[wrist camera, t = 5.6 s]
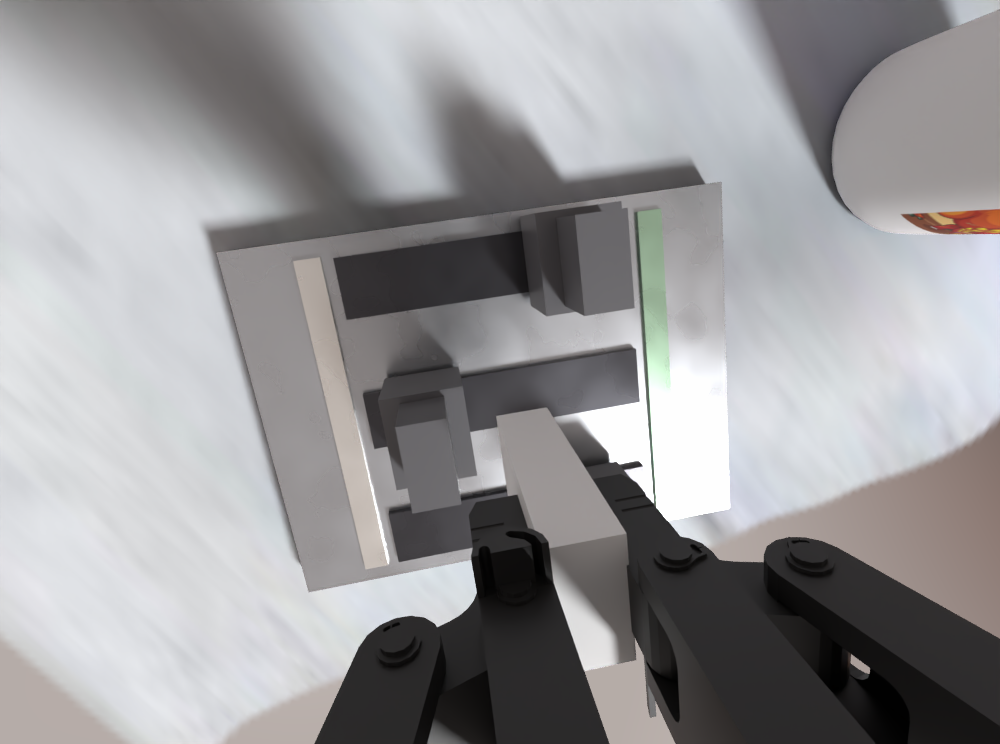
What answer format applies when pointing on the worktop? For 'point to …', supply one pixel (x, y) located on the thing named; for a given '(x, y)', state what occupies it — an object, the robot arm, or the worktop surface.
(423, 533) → the panel
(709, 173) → the worktop surface
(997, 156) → the milk bottle
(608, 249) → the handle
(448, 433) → the handle mid
